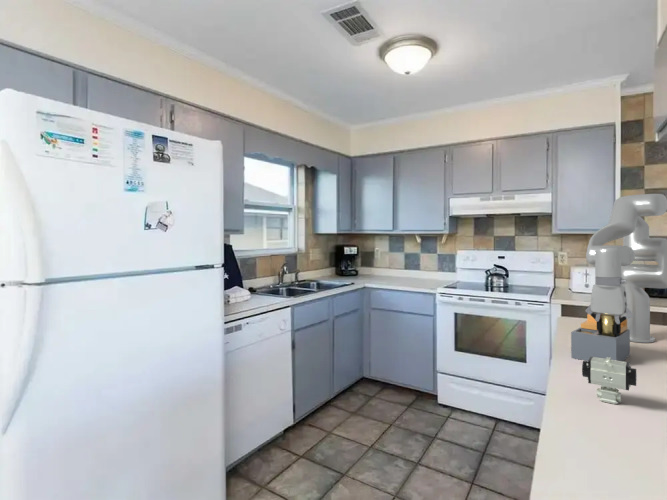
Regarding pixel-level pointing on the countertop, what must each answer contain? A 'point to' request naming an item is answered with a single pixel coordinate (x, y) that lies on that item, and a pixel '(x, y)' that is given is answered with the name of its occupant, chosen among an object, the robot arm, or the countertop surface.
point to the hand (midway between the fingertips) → (608, 332)
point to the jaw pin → (608, 325)
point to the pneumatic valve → (609, 377)
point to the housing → (599, 345)
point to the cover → (593, 324)
